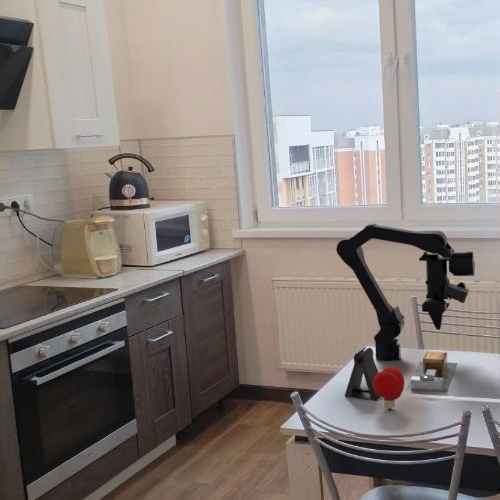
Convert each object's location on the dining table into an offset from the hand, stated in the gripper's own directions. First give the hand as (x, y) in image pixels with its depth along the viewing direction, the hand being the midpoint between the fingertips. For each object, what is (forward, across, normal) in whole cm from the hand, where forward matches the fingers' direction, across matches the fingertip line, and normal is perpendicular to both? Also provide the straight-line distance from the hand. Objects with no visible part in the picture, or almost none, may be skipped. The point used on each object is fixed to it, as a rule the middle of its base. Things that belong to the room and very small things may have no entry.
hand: (438, 329), depth 214 cm
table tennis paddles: (+10, -39, +7) cm, 41 cm away
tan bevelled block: (+9, -8, 0) cm, 13 cm away
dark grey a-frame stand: (+10, -30, +15) cm, 35 cm away
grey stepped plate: (+10, -14, 0) cm, 17 cm away
